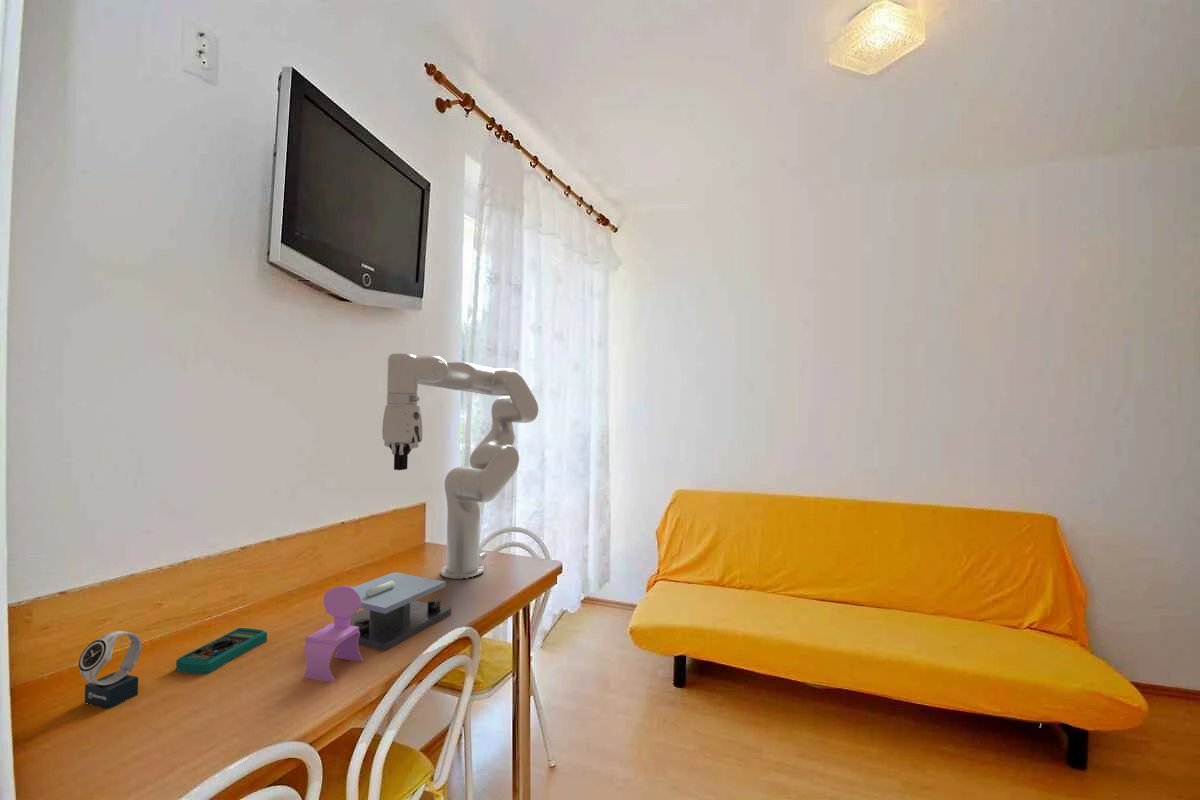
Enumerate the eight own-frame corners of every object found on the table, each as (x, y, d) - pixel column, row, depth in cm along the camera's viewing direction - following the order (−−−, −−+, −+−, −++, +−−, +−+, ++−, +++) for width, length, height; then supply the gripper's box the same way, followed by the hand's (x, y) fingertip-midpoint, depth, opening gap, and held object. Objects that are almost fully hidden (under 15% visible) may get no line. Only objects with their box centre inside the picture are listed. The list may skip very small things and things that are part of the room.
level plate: (394, 576, 133) (394, 565, 133) (445, 586, 127) (445, 574, 127) (329, 601, 116) (330, 587, 116) (385, 613, 110) (385, 599, 110)
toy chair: (297, 678, 97) (299, 596, 97) (332, 656, 106) (333, 581, 106) (336, 684, 95) (338, 601, 96) (368, 661, 104) (369, 585, 104)
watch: (70, 710, 86) (71, 642, 86) (125, 684, 94) (127, 622, 94) (95, 715, 85) (96, 647, 85) (149, 689, 93) (150, 626, 93)
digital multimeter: (171, 673, 99) (172, 658, 99) (238, 638, 113) (239, 625, 113) (205, 678, 98) (205, 662, 98) (268, 642, 112) (269, 628, 112)
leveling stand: (393, 601, 135) (394, 576, 135) (451, 614, 128) (451, 587, 128) (321, 634, 115) (322, 604, 115) (384, 651, 108) (385, 619, 108)
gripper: (434, 401, 141) (432, 469, 141) (391, 400, 147) (389, 466, 147) (414, 400, 134) (412, 473, 134) (369, 399, 140) (368, 469, 140)
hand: (400, 469), depth 140 cm, fingers closed
